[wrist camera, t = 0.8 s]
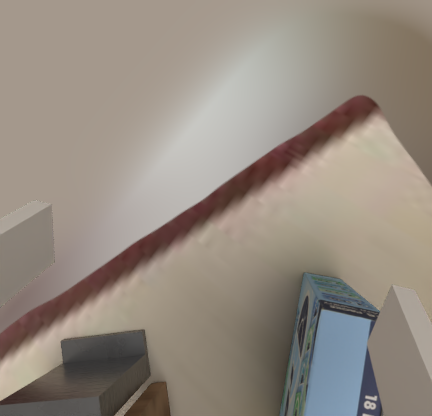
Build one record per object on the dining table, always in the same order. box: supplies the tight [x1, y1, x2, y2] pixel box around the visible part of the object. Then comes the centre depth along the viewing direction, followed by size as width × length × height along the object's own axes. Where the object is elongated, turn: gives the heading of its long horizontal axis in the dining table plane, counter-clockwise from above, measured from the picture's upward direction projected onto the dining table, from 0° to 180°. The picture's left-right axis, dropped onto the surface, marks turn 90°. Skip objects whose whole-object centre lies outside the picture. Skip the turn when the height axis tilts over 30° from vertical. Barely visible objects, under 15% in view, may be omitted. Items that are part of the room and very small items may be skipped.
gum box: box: [279, 272, 383, 416], centre depth 33 cm, size 20×5×23 cm, turn 170°
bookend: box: [0, 330, 150, 416], centre depth 42 cm, size 6×12×13 cm, turn 99°
